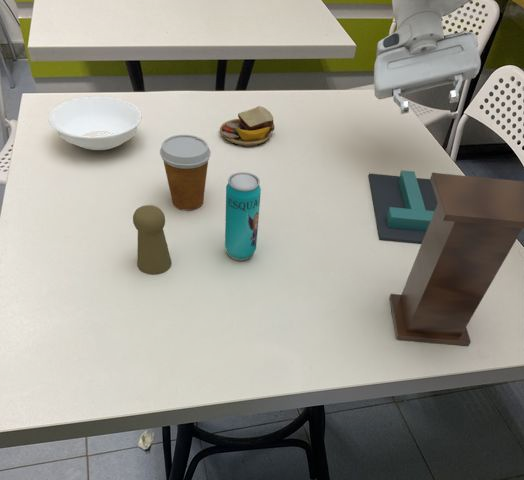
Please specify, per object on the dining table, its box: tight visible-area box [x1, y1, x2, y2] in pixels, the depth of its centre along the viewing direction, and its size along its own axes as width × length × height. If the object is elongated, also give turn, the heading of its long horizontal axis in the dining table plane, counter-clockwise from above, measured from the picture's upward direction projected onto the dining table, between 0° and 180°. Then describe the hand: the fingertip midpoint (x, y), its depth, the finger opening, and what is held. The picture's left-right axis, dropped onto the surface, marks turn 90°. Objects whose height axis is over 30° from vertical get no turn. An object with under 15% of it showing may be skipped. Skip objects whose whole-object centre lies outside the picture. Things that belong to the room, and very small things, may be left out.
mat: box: [368, 172, 438, 244], centre depth 105 cm, size 16×24×1 cm, turn 177°
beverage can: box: [224, 171, 262, 262], centre depth 86 cm, size 6×6×15 cm
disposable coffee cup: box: [159, 134, 212, 211], centre depth 96 cm, size 10×10×12 cm
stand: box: [388, 172, 524, 347], centre depth 75 cm, size 13×10×24 cm
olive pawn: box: [132, 204, 173, 275], centre depth 84 cm, size 6×6×11 cm
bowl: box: [48, 95, 143, 151], centre depth 111 cm, size 20×20×6 cm
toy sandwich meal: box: [219, 105, 275, 147], centre depth 119 cm, size 12×14×5 cm
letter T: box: [386, 170, 434, 231], centre depth 105 cm, size 12×18×2 cm, turn 177°
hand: (429, 106), depth 98 cm, fingers open, 8 cm apart
